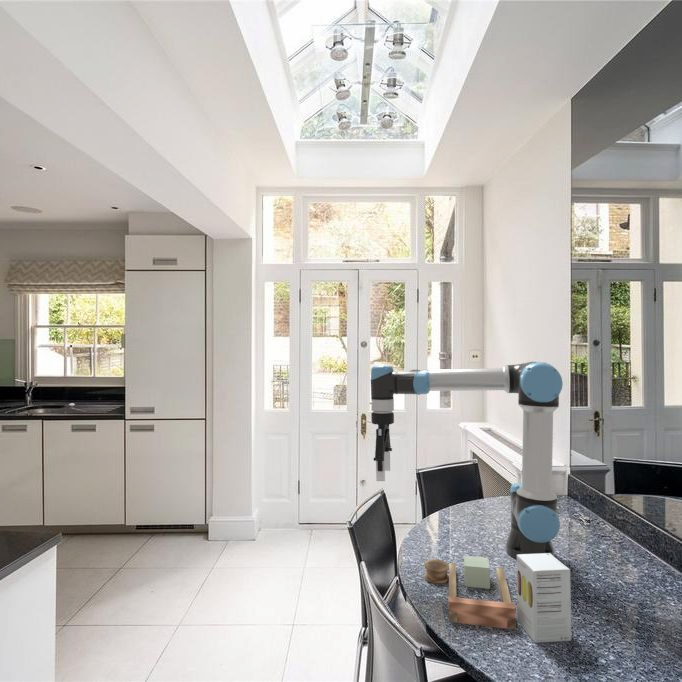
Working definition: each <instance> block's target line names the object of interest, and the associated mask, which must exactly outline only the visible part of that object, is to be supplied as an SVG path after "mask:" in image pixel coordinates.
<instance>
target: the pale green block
mask: <svg viewBox="0 0 682 682" xmlns="http://www.w3.org/2000/svg"><path fill="white" fill-rule="evenodd" d="M490 567H491V566H490V562H489V557H483V556H473V555H472V556H471V555H463V570H464V571H463V577H464V587H467V588H468V587H469V588H477V589H478V588H479V589H488V590H489V589H491V569H490Z"/></svg>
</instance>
